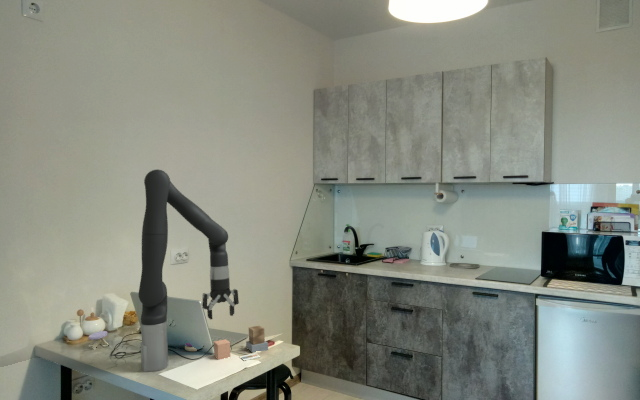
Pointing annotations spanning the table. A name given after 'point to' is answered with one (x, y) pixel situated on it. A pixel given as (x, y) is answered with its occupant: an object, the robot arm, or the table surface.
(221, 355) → the terracotta brick
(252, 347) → the base brick
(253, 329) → the walnut brick
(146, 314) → the robot arm
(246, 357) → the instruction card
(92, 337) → the toy table
